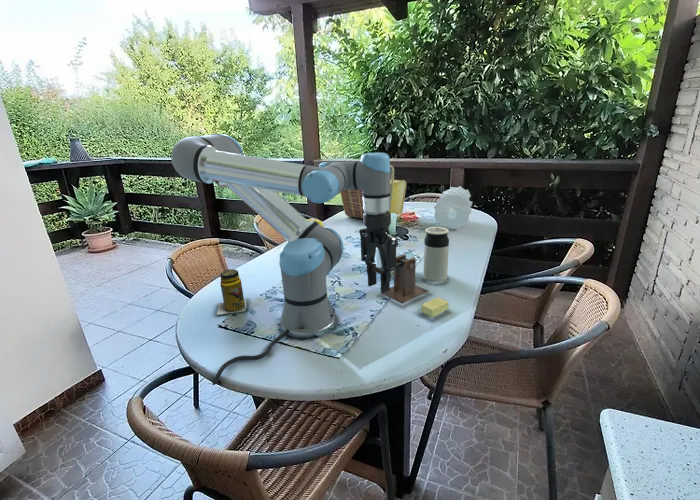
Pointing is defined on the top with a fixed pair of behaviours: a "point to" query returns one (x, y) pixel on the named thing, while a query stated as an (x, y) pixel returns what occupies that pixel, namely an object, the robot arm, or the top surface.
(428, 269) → the travel mug
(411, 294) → the wooden lever stand
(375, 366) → the top surface
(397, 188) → the picnic basket
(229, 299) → the condiment
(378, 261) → the jar
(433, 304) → the butter
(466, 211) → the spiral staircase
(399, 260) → the lever
